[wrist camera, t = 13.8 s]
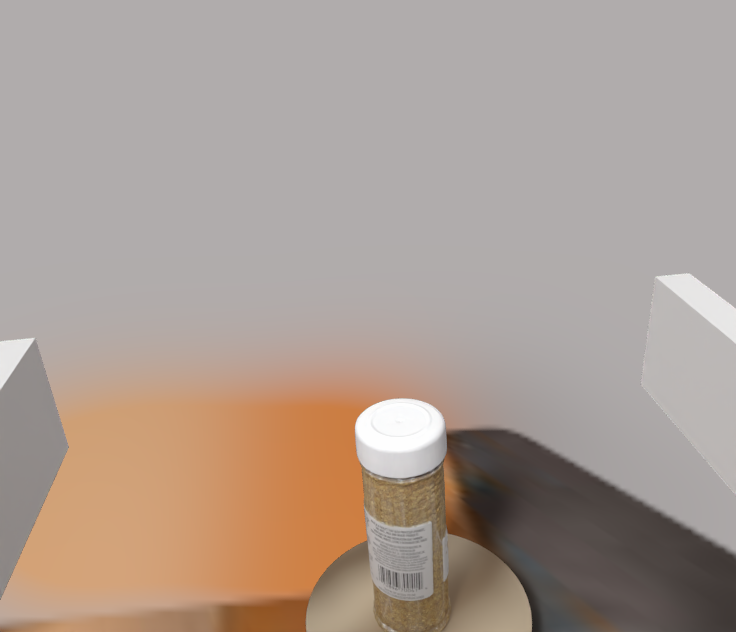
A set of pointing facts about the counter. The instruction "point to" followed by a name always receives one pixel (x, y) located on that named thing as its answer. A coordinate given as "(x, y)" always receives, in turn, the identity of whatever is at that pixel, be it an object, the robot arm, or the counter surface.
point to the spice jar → (405, 513)
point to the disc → (466, 592)
